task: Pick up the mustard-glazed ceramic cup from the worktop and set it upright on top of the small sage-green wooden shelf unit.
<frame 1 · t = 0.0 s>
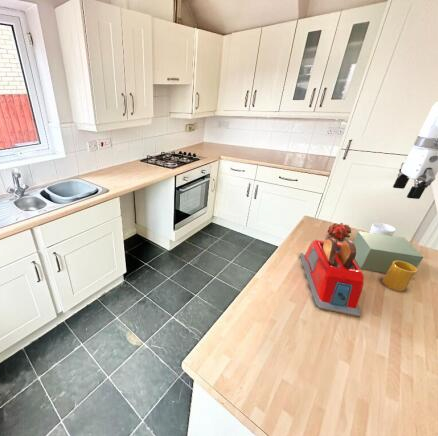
hand: (405, 192, 85), 33 cm above the counter, tool pointing down, fingers open, 9 cm apart
shelf: (377, 262, 103), on the counter
toaster: (325, 281, 93), on the counter
white cup: (374, 245, 114), on the counter
cup: (393, 284, 91), on the counter
dragon fruit: (335, 238, 119), on the counter
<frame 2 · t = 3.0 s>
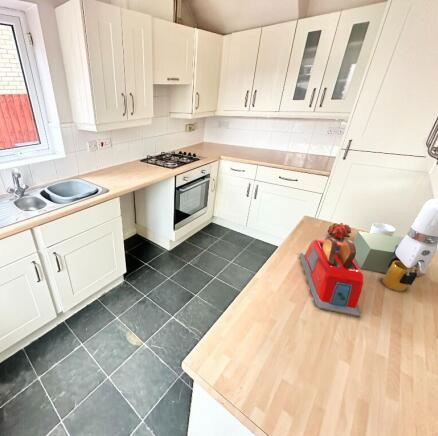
hand: (398, 275, 89), 5 cm above the counter, tool pointing down, fingers open, 8 cm apart
nothing on the counter moved.
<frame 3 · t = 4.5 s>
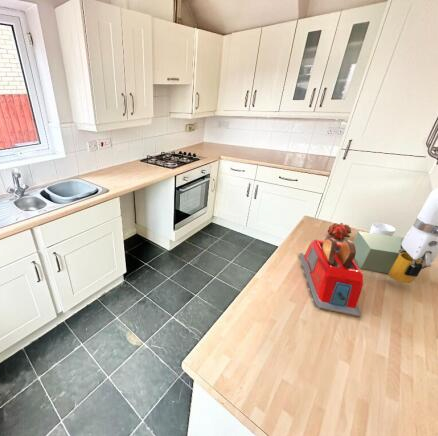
hand: (405, 268, 87), 8 cm above the counter, tool pointing down, fingers closed on cup, 6 cm apart
cup: (399, 277, 89), point 4 cm above the counter, touching gripper
everything else where it was.
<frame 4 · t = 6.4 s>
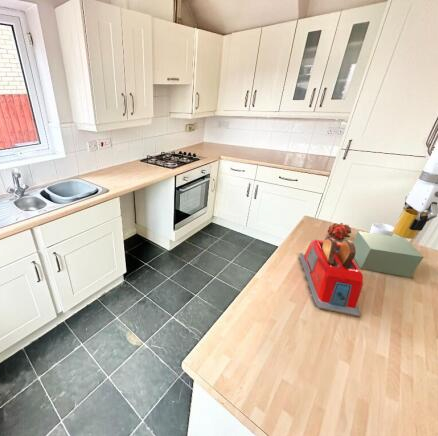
hand: (409, 224, 88), 22 cm above the counter, tool pointing down, fingers closed on cup, 6 cm apart
cup: (404, 234, 90), point 17 cm above the counter, touching gripper
everything else where it was.
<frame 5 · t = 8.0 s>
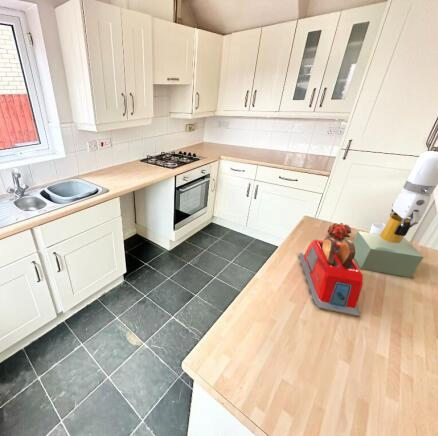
hand: (395, 229, 95), 16 cm above the counter, tool pointing down, fingers closed on cup, 6 cm apart
cup: (390, 238, 97), point 12 cm above the counter, touching gripper
everything else where it was.
when the fingers open (14 cm above the counter, at t = 9.2 s): cup stays where it is, resting on shelf.
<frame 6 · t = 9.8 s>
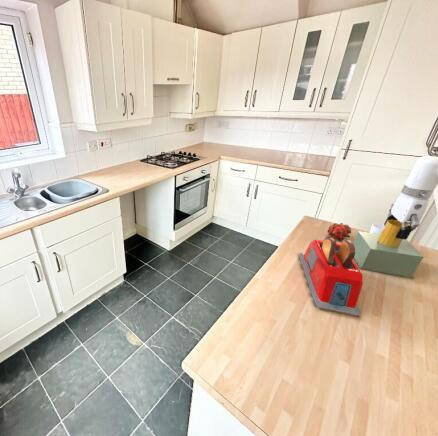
hand: (394, 232, 95), 15 cm above the counter, tool pointing down, fingers open, 9 cm apart
cup: (387, 242, 98), point 10 cm above the counter, touching shelf
everything else where it was.
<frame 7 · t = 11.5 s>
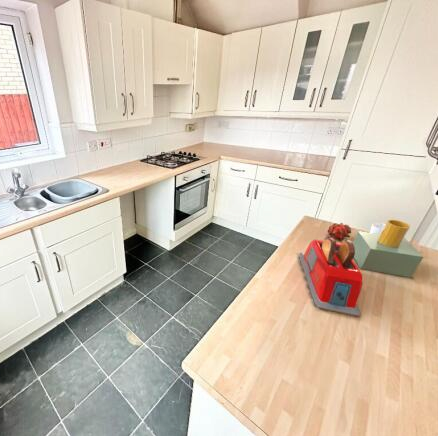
nothing on the counter moved.
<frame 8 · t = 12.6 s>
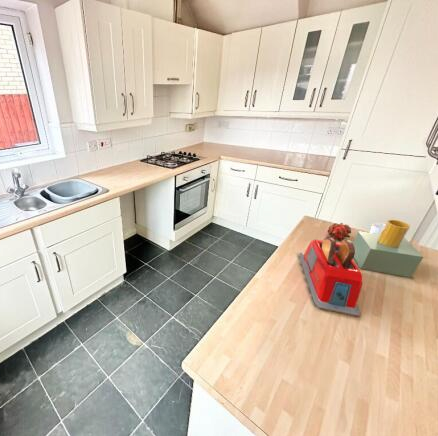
nothing on the counter moved.
at the end: cup inside the target area on the shelf (0.1 cm from its centre), point 10.0 cm above the shelf's base; cup tilted 0°; the gripper is holding nothing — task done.
